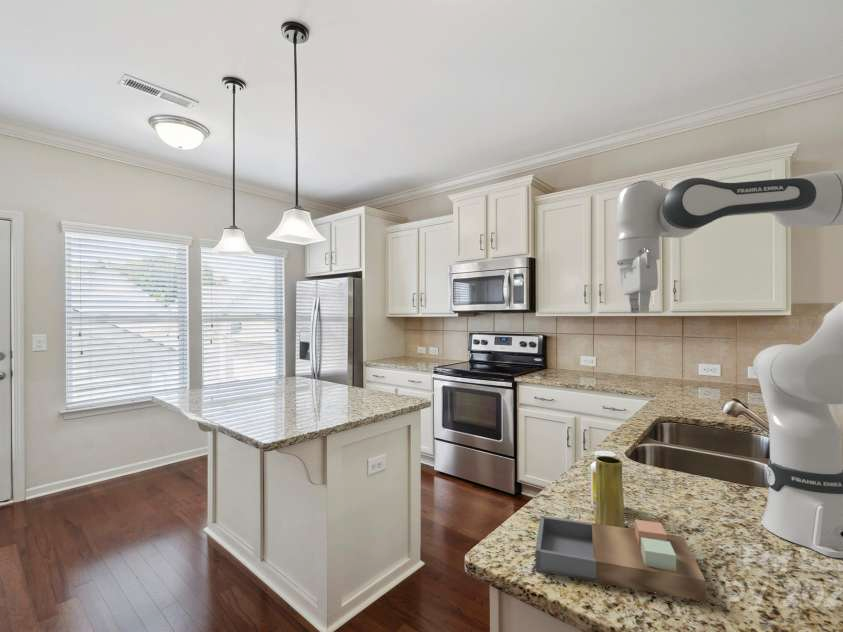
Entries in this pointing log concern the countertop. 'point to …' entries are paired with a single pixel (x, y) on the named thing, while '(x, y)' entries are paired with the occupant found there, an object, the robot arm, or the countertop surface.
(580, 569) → the tray
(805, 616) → the countertop surface
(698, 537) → the countertop surface
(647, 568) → the board
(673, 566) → the tile sage
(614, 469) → the vase
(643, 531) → the tile terracotta
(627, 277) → the robot arm
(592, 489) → the supplement bottle
